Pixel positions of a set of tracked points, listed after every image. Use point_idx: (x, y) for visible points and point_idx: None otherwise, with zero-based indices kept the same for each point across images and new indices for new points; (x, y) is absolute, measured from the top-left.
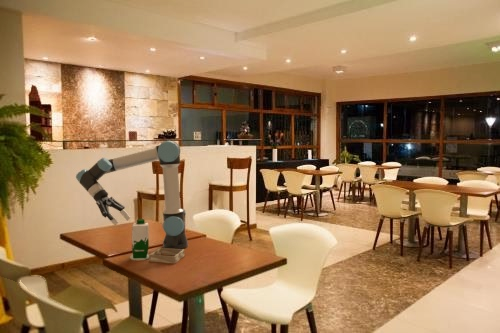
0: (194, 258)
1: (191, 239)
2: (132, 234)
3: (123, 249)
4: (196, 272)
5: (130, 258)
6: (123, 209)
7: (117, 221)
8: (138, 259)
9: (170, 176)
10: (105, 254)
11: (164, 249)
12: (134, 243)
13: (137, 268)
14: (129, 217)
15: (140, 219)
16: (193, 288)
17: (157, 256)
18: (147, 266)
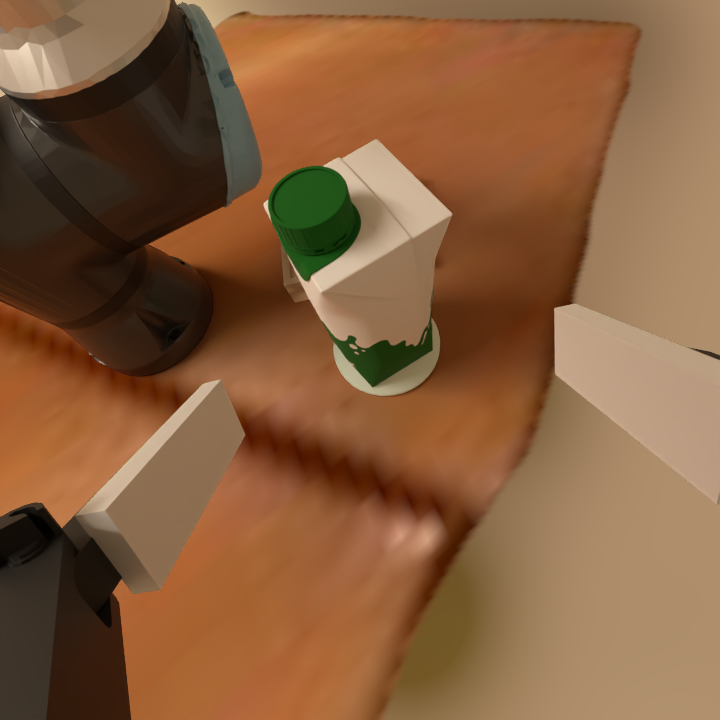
0: (307, 166)
1: (37, 320)
2: (425, 291)
3: (285, 541)
4: (447, 87)
5: (432, 369)
6: (101, 503)
7: (582, 308)
8: (432, 319)
9: None
10: (427, 583)
11: (291, 265)
12: (431, 303)
13: (531, 253)
14: (220, 392)
15: (286, 213)
16: (578, 26)
17: None
18: (483, 238)
